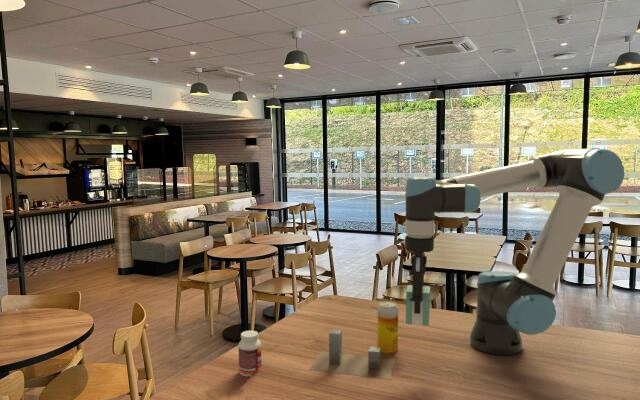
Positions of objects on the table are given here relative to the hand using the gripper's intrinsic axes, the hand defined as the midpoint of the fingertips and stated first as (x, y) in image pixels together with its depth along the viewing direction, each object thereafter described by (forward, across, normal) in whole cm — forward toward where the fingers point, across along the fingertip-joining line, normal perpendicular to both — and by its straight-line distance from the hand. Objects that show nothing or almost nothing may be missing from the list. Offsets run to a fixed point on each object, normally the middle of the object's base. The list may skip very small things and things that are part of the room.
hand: (417, 319), depth 127 cm
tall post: (+14, +2, -22) cm, 26 cm away
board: (+15, +2, -17) cm, 23 cm away
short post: (+14, +2, -11) cm, 18 cm away
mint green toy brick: (0, 0, 0) cm, 0 cm away
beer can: (+15, -11, -9) cm, 21 cm away
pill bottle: (+15, +11, -44) cm, 48 cm away
